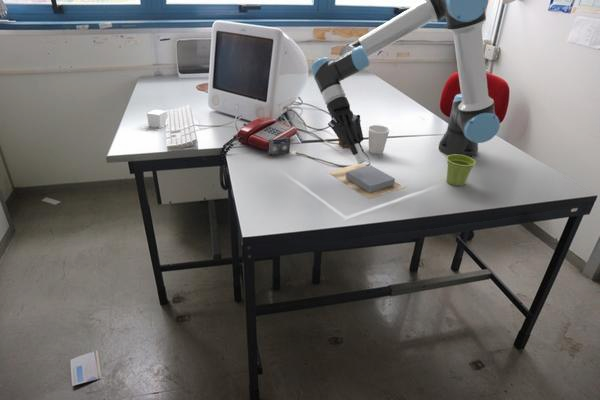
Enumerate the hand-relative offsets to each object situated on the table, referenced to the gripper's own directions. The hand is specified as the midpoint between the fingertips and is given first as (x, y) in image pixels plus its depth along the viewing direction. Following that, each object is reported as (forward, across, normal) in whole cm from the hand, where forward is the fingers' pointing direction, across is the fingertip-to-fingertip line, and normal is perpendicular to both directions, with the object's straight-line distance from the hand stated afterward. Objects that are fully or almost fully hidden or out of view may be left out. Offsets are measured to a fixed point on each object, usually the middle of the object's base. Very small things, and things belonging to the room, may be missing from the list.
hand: (362, 162), depth 139 cm
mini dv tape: (-19, +13, -28) cm, 36 cm away
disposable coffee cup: (-14, -16, -24) cm, 32 cm away
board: (+6, 0, -3) cm, 7 cm away
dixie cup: (-6, -21, -15) cm, 27 cm away
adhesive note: (-55, +44, -65) cm, 96 cm away
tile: (+2, 0, -4) cm, 5 cm away
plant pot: (+18, -28, +8) cm, 34 cm away
